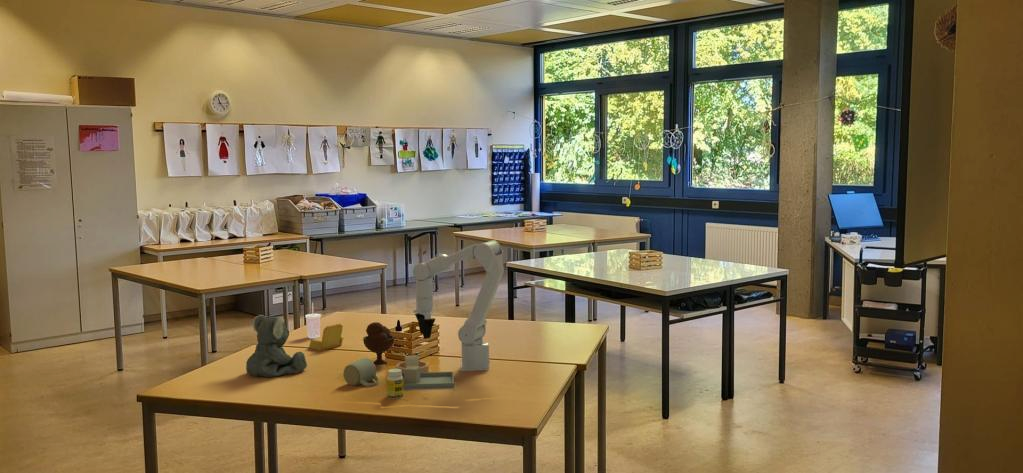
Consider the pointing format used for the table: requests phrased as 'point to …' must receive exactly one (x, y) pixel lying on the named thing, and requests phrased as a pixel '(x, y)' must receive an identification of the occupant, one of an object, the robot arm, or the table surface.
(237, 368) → the table surface
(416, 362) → the sage green cube
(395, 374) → the supplement bottle
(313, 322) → the beverage cup
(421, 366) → the bowl
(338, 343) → the yellow bent piece
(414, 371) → the beige square block
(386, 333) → the ice cream bowl
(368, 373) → the ceramic mug
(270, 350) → the koala plush
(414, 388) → the parts tray
